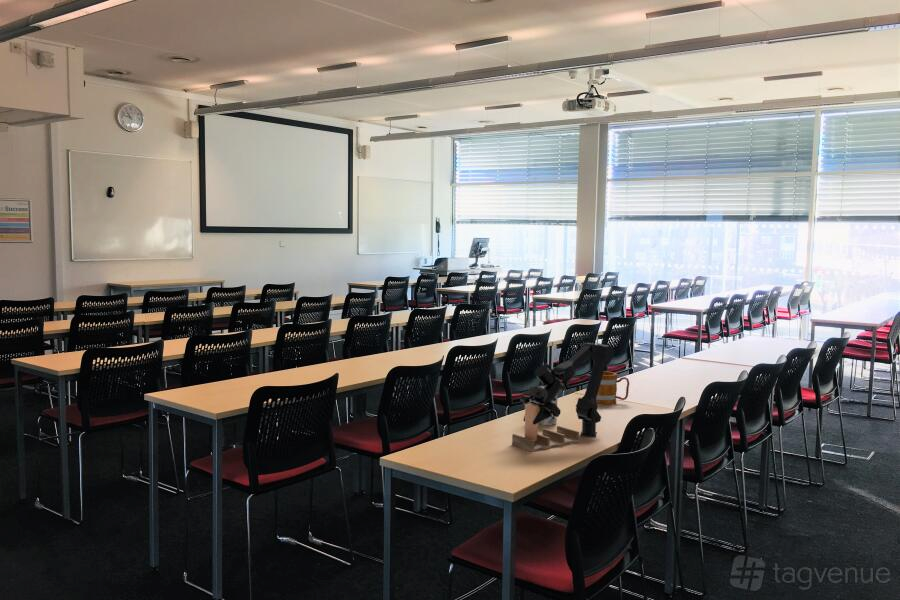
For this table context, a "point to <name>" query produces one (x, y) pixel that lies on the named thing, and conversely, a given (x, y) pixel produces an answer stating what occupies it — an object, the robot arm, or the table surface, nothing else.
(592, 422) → the robot arm
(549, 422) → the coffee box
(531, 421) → the wooden block
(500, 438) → the table surface
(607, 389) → the mug
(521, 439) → the rack
